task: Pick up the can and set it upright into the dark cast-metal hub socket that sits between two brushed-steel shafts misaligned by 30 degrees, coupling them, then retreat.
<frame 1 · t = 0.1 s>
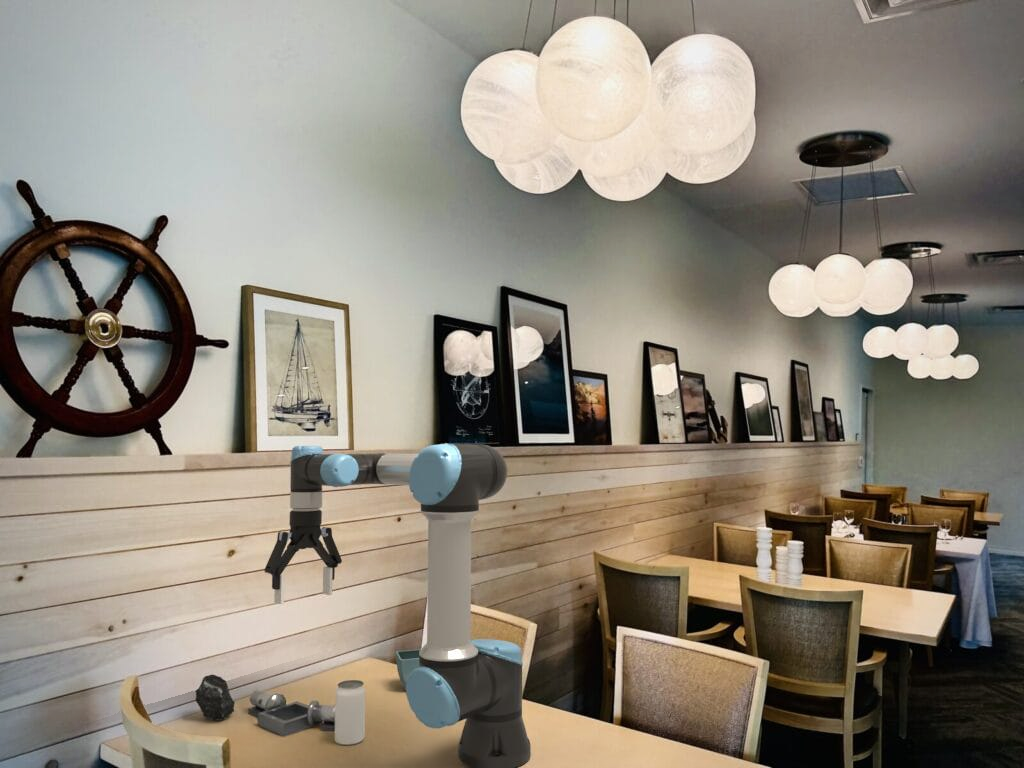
hand: (303, 598, 177), 28 cm above the table, fingers open, 13 cm apart
flower pot: (413, 689, 196), on the table
shaft a: (265, 714, 177), on the table
rock: (216, 719, 175), on the table
shaft b: (331, 727, 169), on the table
can: (349, 741, 162), on the table
hub socket: (290, 724, 171), on the table
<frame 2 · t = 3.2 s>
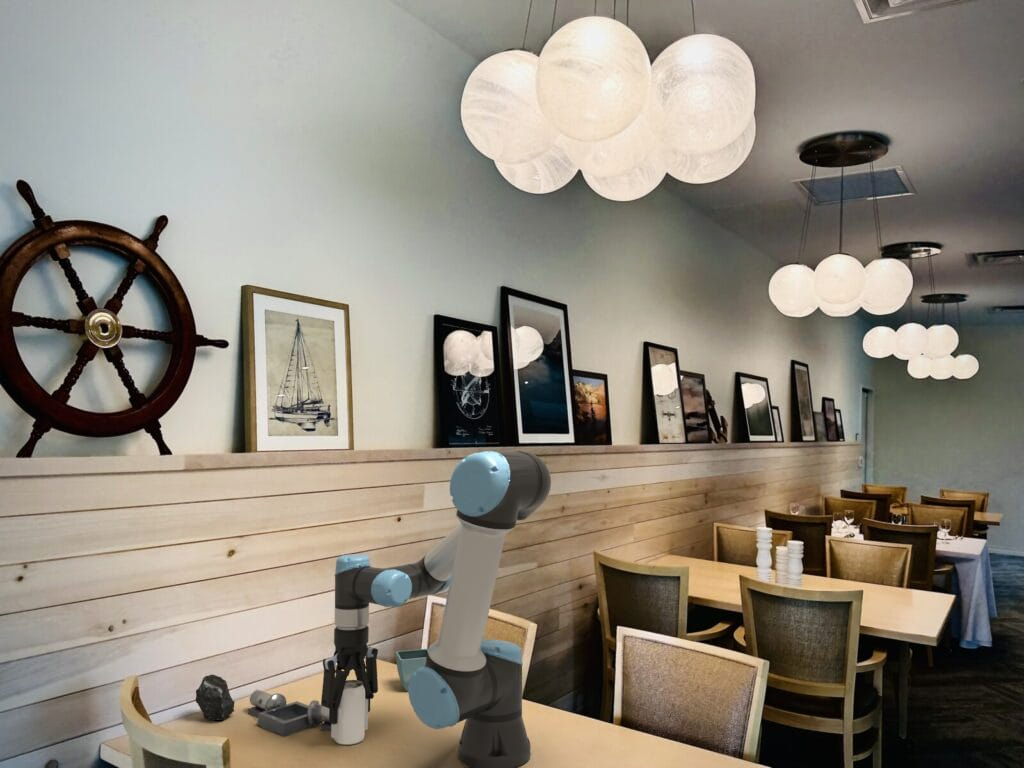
hand: (349, 733, 162), 1 cm above the table, fingers closed on can, 6 cm apart
can: (349, 741, 162), on the table, touching gripper
everything else where it was.
when the fingers open (4 cm above the table, at t = 8.1 s): can drops 2 cm, resting on hub socket.
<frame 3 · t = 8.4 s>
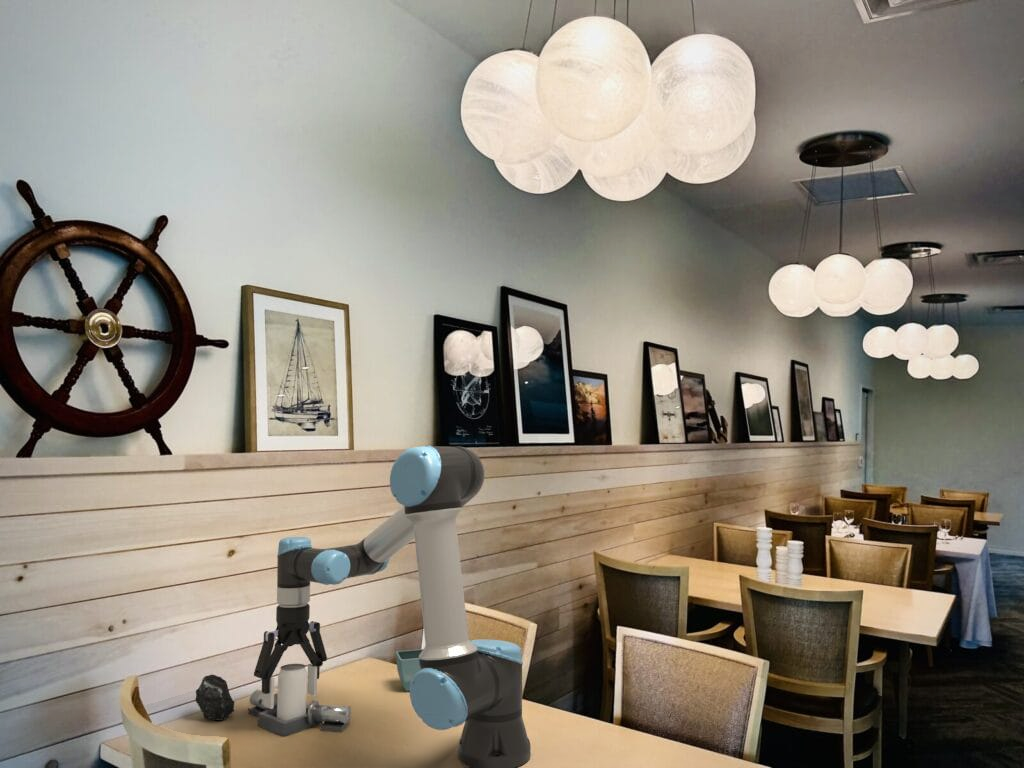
hand: (290, 700, 171), 5 cm above the table, fingers open, 11 cm apart
can: (291, 721, 171), point 1 cm above the table, touching hub socket
everything else where it was.
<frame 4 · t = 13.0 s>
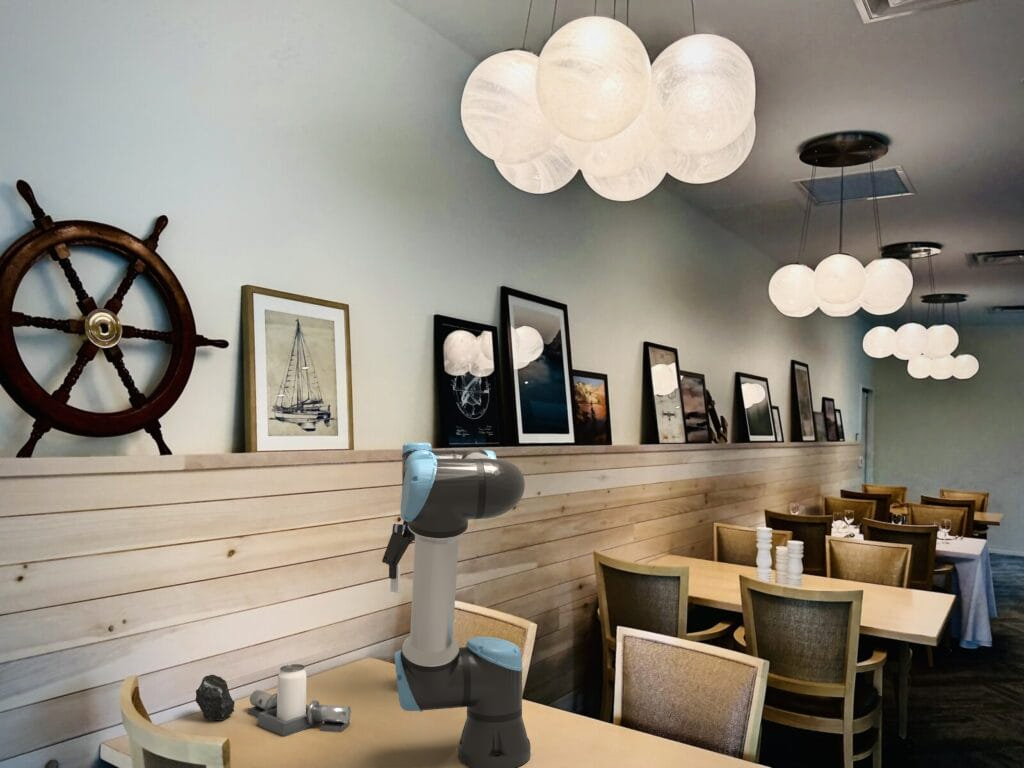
hand: (415, 588, 186), 29 cm above the table, fingers open, 13 cm apart
nothing on the table moved.
at the end: can 0.2 cm off-centre on the hub socket, point 0.6 cm above the hub socket's base; can tilted 0°; the gripper is holding nothing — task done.
